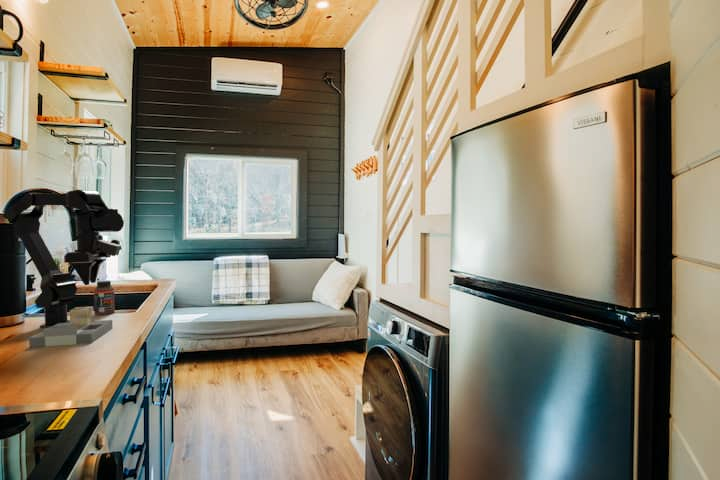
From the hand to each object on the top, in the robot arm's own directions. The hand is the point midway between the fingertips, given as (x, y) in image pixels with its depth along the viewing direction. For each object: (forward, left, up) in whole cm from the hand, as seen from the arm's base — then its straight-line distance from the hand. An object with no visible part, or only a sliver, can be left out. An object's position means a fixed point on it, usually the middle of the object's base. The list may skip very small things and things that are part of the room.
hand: (90, 283), depth 128 cm
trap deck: (+12, 0, -13) cm, 18 cm away
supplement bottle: (-20, -3, -13) cm, 24 cm away
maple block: (+7, 0, -10) cm, 13 cm away
